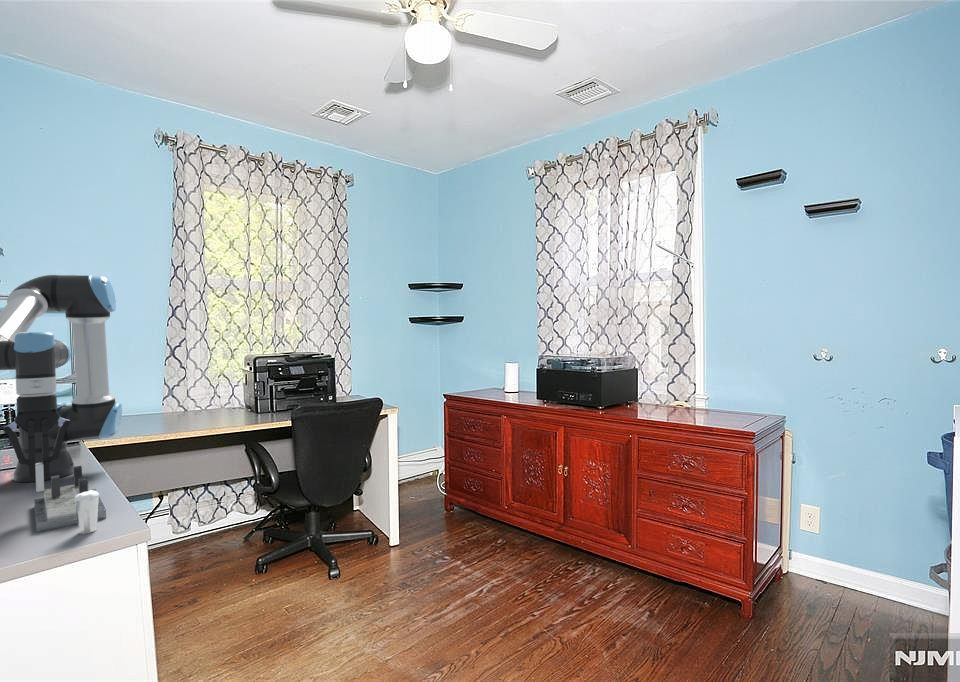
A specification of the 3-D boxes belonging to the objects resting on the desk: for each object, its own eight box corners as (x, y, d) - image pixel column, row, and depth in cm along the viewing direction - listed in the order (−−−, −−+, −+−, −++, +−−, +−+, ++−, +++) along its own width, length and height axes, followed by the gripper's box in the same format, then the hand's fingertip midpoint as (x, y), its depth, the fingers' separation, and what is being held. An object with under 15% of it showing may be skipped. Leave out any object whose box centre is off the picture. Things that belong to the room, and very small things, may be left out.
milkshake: (82, 527, 121) (81, 485, 121) (105, 527, 121) (103, 484, 121) (66, 535, 117) (65, 491, 117) (89, 535, 117) (88, 490, 117)
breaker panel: (34, 507, 137) (33, 470, 137) (95, 496, 146) (94, 461, 146) (36, 532, 119) (35, 490, 119) (106, 517, 128) (104, 478, 128)
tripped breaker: (51, 495, 131) (50, 476, 131) (59, 493, 132) (58, 475, 132) (51, 497, 129) (51, 478, 129) (60, 496, 130) (59, 477, 130)
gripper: (0, 398, 121) (3, 499, 122) (71, 393, 130) (74, 487, 130) (1, 396, 127) (4, 492, 127) (69, 391, 135) (72, 481, 136)
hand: (40, 489), depth 129 cm, fingers closed
